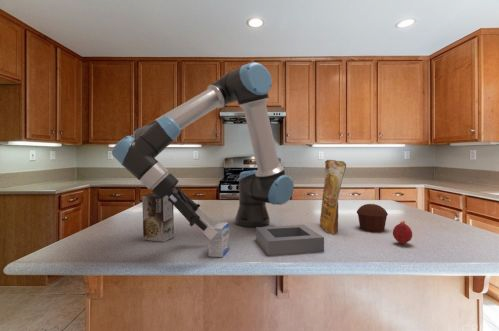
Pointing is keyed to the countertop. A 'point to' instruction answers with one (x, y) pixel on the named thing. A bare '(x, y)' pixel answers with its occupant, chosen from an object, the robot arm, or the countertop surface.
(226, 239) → the medicine box
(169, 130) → the robot arm
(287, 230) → the frame
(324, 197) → the pancake mix bag
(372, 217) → the muffin
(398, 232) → the red rounded lump
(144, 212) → the coffee box
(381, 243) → the countertop surface
